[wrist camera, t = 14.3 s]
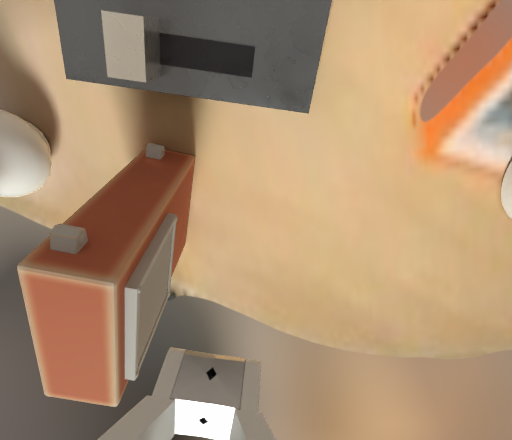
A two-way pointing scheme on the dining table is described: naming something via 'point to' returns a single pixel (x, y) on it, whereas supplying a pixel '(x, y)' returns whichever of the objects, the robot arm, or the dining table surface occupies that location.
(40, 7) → the dining table surface
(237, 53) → the box
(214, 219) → the dining table surface
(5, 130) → the flower vase
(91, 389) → the orange retro radio
